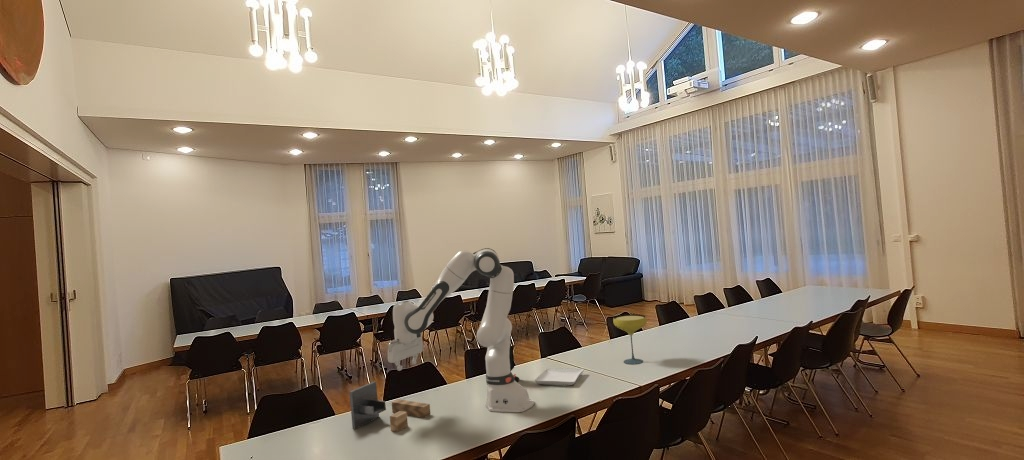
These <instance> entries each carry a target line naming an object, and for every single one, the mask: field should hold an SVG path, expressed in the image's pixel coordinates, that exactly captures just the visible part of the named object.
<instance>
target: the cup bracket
mask: <svg viewBox="0 0 1024 460" xmlns="http://www.w3.org/2000/svg"><path fill="white" fill-rule="evenodd" d="M377 387H378V386H377V381H371V382H369V383H367V384H364V385H362V386H359V387H357V388H355V389H352V390H350V391H349V403H350V414H351V424H352V425H351V426H352V429H353V430H356V429H358V428H360V427H362V426H363V425H366V424H368V423H370V422H372V421H374V420H376V419H378V418H380V413H382V412H385V411H386V410H387V408H386V407H387V406H386V401H385V400H380V399H378V389H377ZM377 417H378V418H377ZM373 419H374V420H373ZM371 420H372V421H371ZM369 421H370V422H369Z"/></svg>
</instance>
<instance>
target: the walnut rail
mask: <svg viewBox="0 0 1024 460" xmlns="http://www.w3.org/2000/svg"><path fill="white" fill-rule="evenodd" d="M391 409H392V410H391V411H392V413H393V414H395V413H397V412H399V411H403V412H407V416H412V417H417V418H423V419H425V418H427V417H429V416H430V415H432V414H431V404H430V403H425V402H419V401H413V400H405V399H400V398H399V399H398V398H397V399H395V400H393V401H391Z"/></svg>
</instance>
